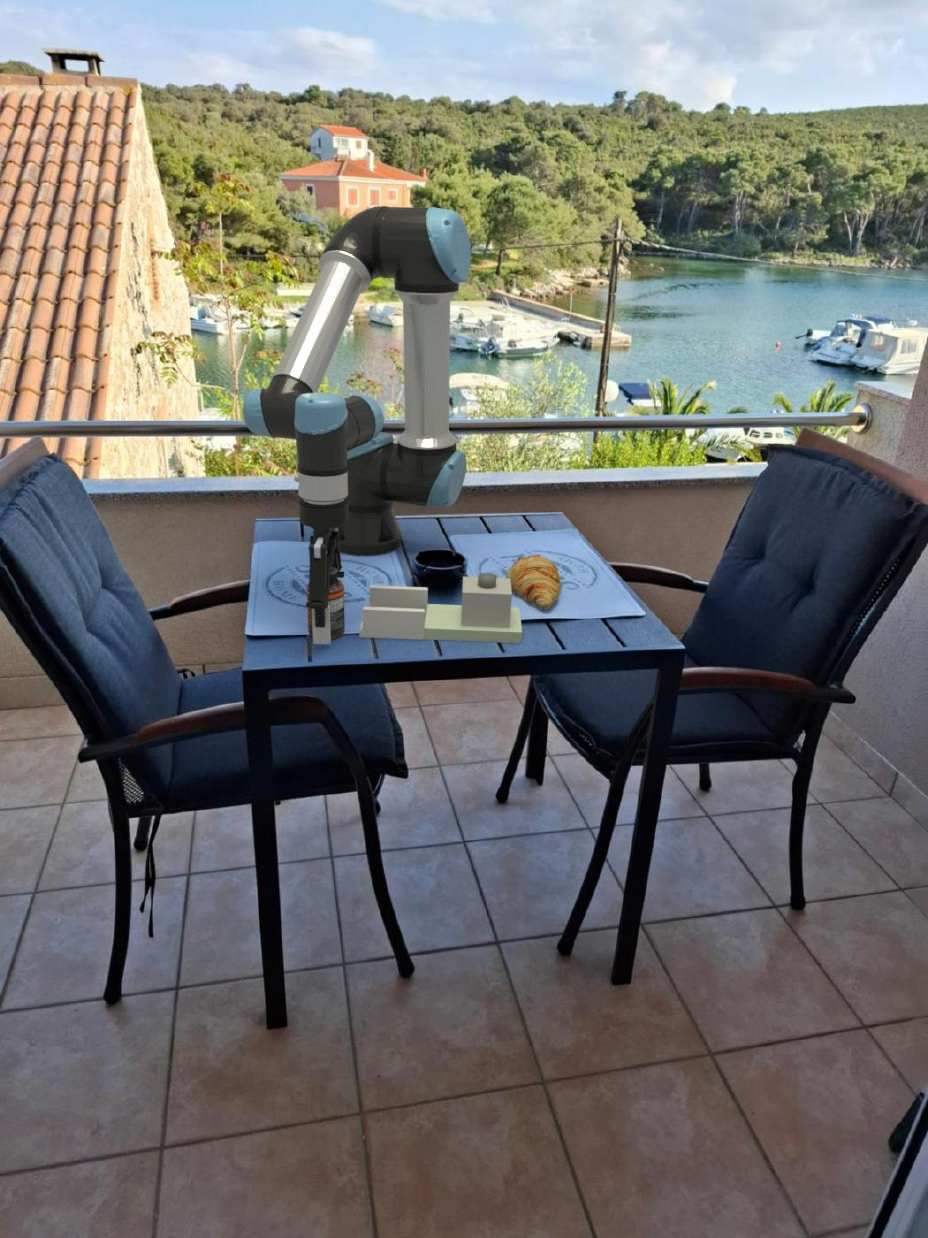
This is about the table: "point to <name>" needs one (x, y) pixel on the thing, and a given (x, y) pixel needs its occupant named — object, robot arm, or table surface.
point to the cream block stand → (444, 613)
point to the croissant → (535, 580)
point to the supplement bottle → (332, 606)
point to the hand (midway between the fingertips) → (327, 628)
